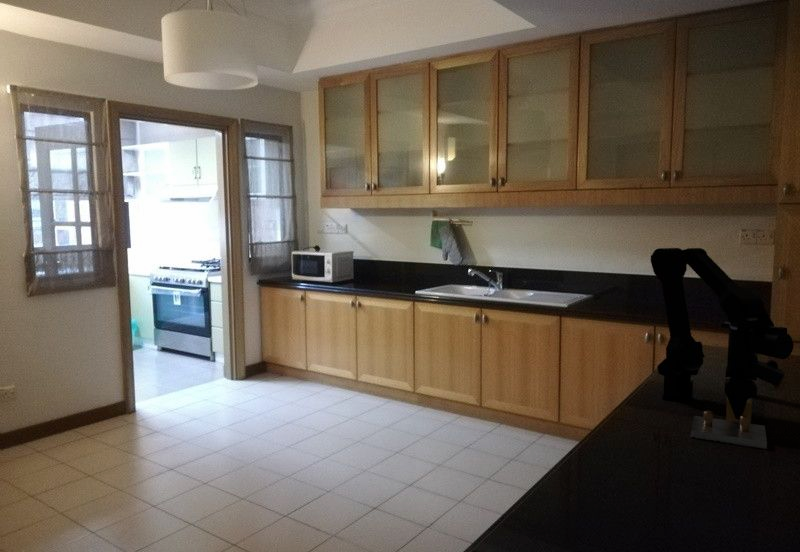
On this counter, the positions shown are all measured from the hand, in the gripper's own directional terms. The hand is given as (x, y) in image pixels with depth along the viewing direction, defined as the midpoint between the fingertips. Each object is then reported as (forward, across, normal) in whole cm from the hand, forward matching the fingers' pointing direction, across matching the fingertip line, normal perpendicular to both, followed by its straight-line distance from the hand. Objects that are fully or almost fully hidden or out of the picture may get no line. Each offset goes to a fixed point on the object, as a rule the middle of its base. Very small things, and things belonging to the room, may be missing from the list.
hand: (738, 415), depth 142 cm
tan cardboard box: (+1, 0, 0) cm, 1 cm away
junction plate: (+1, -12, +2) cm, 12 cm away
